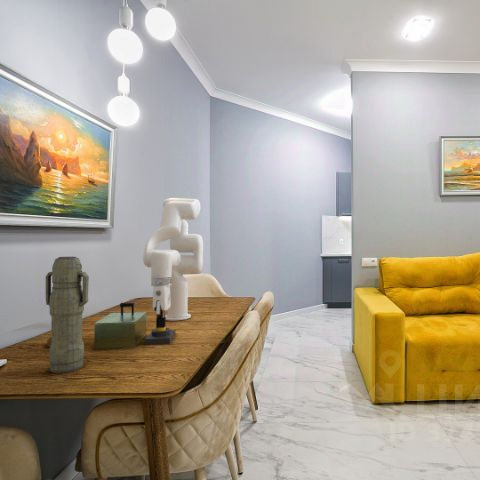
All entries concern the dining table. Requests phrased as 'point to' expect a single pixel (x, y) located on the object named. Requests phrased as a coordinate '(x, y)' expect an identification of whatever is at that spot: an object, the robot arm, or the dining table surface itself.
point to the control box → (160, 337)
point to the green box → (119, 335)
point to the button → (161, 329)
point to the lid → (122, 316)
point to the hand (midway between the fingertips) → (160, 327)
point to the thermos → (66, 313)
